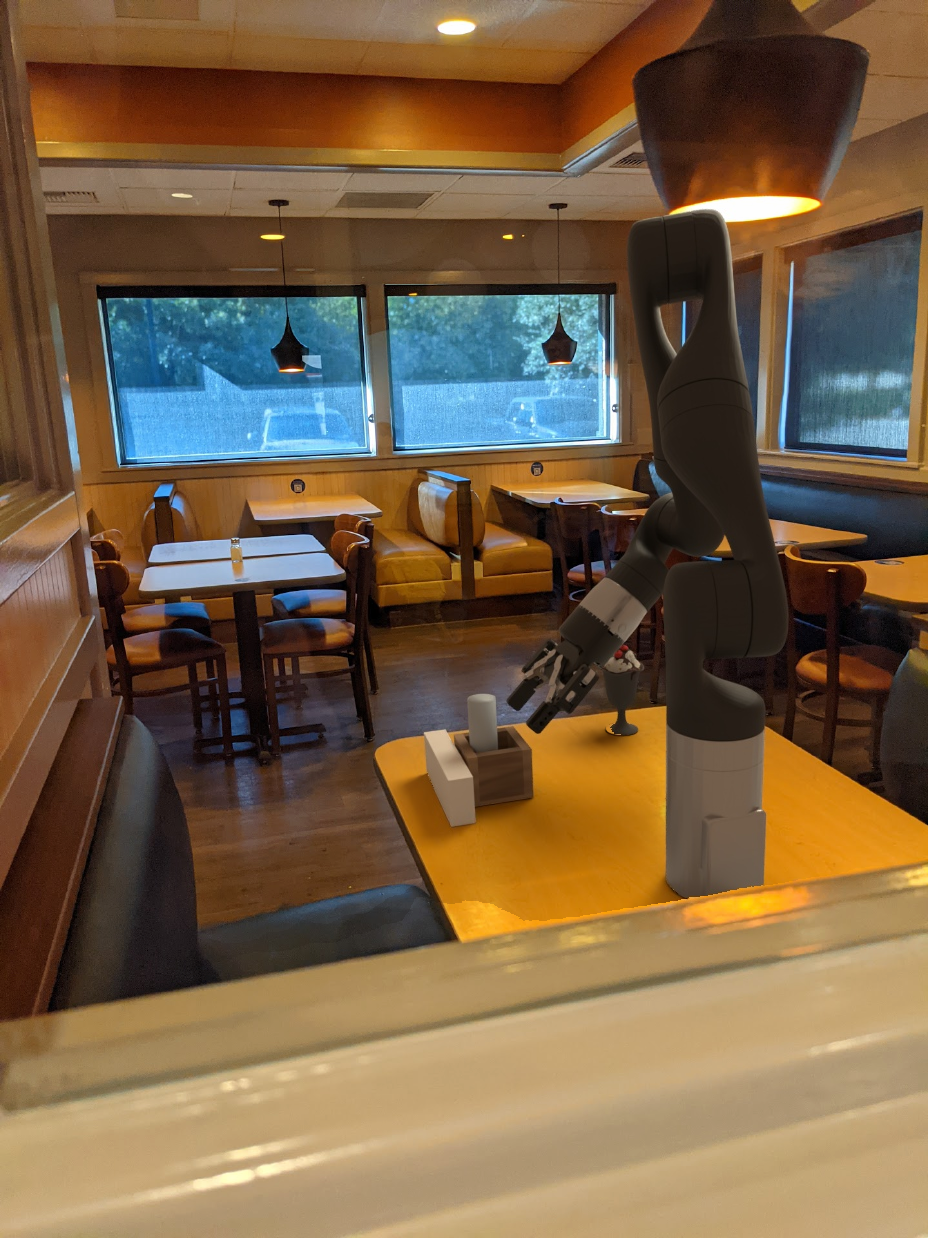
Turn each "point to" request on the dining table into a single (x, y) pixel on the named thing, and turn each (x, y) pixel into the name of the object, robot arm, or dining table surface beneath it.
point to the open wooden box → (499, 768)
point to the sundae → (622, 686)
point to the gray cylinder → (482, 722)
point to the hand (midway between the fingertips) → (521, 717)
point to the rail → (450, 778)
